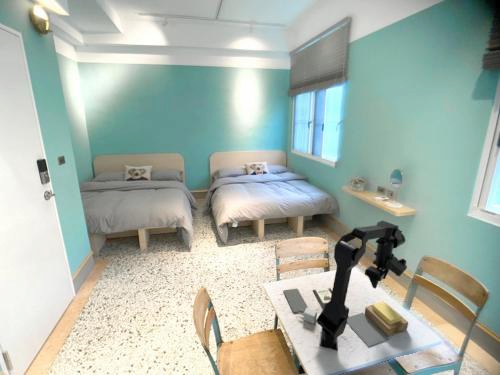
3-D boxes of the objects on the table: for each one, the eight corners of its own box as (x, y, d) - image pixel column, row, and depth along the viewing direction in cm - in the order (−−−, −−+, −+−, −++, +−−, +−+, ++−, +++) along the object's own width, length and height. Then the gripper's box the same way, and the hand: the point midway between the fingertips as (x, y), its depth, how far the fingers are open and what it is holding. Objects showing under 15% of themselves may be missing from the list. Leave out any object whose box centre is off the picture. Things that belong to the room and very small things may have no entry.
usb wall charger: (313, 324, 103) (314, 317, 102) (297, 318, 107) (297, 310, 106) (316, 318, 107) (317, 310, 106) (300, 312, 110) (301, 304, 109)
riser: (382, 309, 112) (383, 301, 110) (406, 330, 101) (408, 322, 100) (364, 314, 108) (365, 307, 107) (387, 337, 98) (388, 329, 96)
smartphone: (297, 288, 124) (309, 310, 110) (297, 289, 125) (309, 311, 111) (282, 290, 123) (293, 312, 109) (282, 291, 123) (293, 314, 109)
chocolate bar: (328, 318, 106) (312, 289, 123) (328, 320, 106) (312, 291, 123) (348, 316, 107) (330, 288, 124) (348, 318, 107) (330, 289, 124)
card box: (383, 305, 108) (383, 301, 108) (401, 320, 100) (402, 316, 100) (372, 308, 107) (372, 304, 106) (389, 324, 98) (390, 320, 98)
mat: (362, 313, 109) (362, 312, 109) (389, 339, 97) (389, 338, 97) (343, 319, 106) (343, 318, 106) (368, 347, 94) (368, 346, 93)
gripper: (396, 269, 92) (390, 304, 97) (414, 250, 104) (407, 282, 108) (366, 256, 100) (361, 289, 105) (385, 240, 112) (380, 271, 116)
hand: (379, 283), depth 108 cm, fingers open, 9 cm apart
